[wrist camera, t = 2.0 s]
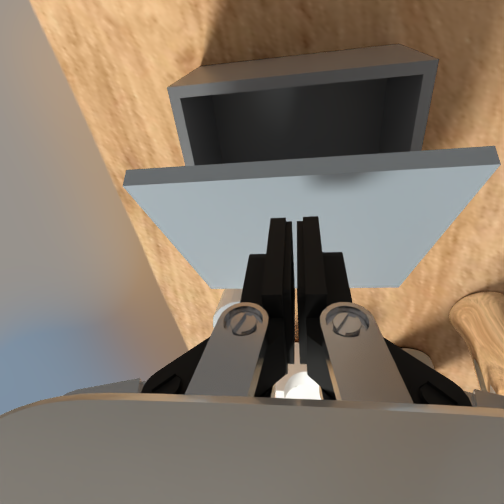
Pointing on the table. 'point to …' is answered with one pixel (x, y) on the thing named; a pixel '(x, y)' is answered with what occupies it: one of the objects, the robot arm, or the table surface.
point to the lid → (314, 208)
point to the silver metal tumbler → (483, 336)
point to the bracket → (297, 382)
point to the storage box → (305, 106)
